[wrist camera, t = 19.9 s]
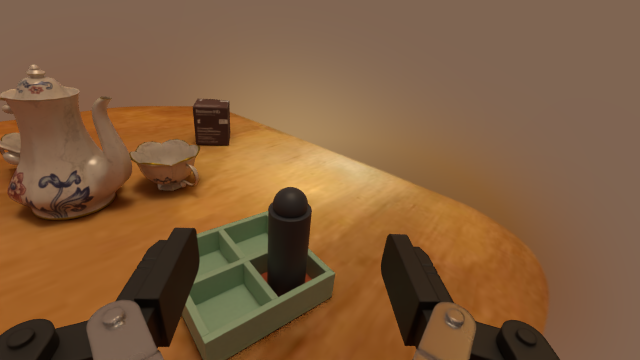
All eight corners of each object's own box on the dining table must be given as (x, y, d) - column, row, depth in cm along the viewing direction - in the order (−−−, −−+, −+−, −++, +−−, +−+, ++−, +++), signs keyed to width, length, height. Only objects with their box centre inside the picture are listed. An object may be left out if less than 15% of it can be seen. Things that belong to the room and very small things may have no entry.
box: (195, 145, 58) (191, 106, 55) (200, 134, 63) (196, 98, 60) (229, 145, 59) (227, 107, 56) (230, 135, 65) (229, 99, 61)
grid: (331, 296, 29) (335, 273, 28) (207, 370, 22) (204, 343, 21) (267, 231, 37) (268, 210, 36) (161, 271, 30) (156, 246, 29)
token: (312, 288, 29) (322, 193, 24) (280, 306, 27) (284, 205, 22) (291, 266, 31) (296, 175, 26) (260, 281, 29) (260, 185, 24)
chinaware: (216, 180, 50) (212, 71, 44) (174, 235, 35) (159, 79, 29) (34, 167, 48) (4, 53, 42) (-96, 219, 33) (-173, 50, 27)
